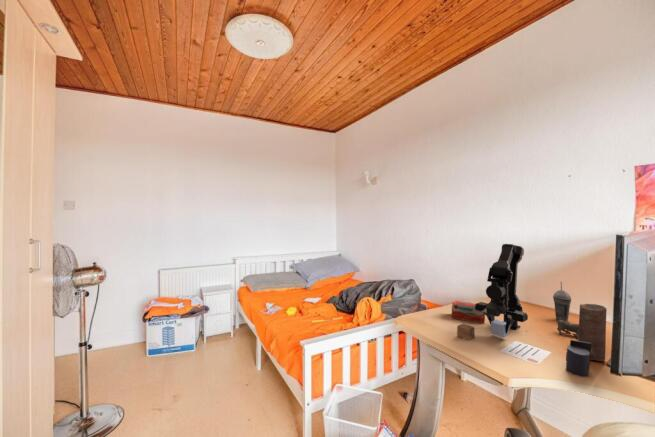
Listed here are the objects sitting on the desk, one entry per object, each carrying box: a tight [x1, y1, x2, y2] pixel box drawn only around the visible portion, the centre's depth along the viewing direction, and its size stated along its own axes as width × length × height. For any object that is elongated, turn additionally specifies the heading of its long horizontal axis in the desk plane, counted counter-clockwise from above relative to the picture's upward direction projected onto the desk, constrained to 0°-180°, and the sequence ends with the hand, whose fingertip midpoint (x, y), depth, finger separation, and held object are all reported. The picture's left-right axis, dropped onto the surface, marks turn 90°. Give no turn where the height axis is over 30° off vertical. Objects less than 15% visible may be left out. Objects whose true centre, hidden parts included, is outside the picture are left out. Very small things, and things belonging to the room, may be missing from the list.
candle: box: [577, 303, 608, 362], centre depth 100 cm, size 8×7×20 cm
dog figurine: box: [556, 317, 579, 339], centre depth 120 cm, size 12×6×7 cm, turn 42°
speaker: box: [565, 339, 591, 378], centre depth 90 cm, size 8×6×10 cm
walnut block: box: [456, 322, 476, 341], centre depth 116 cm, size 5×5×5 cm
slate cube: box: [490, 319, 510, 339], centre depth 116 cm, size 5×5×5 cm
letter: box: [499, 340, 552, 366], centre depth 104 cm, size 16×12×1 cm
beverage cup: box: [552, 281, 572, 323], centre depth 139 cm, size 7×7×20 cm
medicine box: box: [451, 299, 486, 324], centre depth 140 cm, size 15×8×8 cm, turn 63°
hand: (499, 331), depth 116 cm, fingers closed on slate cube, 5 cm apart
